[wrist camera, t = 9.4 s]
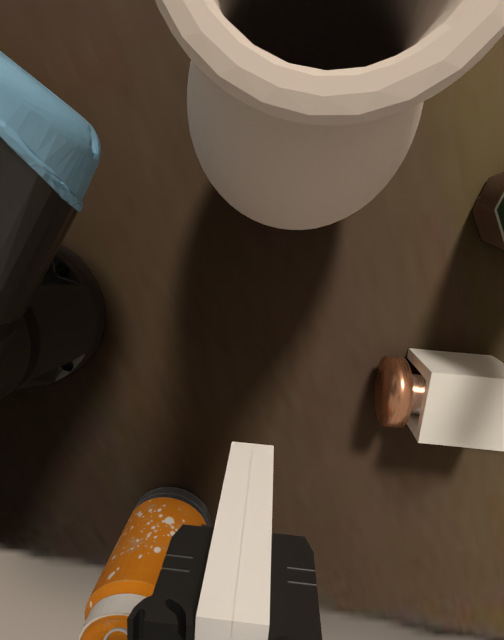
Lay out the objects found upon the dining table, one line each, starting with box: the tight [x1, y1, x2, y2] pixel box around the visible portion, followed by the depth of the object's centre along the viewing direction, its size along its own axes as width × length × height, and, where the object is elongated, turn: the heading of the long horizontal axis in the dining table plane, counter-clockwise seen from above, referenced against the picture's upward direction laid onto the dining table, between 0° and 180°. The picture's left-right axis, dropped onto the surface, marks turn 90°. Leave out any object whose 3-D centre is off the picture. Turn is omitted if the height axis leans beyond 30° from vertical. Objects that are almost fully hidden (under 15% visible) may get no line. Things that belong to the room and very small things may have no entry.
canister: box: [78, 487, 213, 640], centre depth 37 cm, size 9×11×20 cm
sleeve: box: [406, 348, 504, 451], centre depth 38 cm, size 8×7×6 cm
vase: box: [155, 0, 504, 230], centre depth 22 cm, size 14×14×30 cm
